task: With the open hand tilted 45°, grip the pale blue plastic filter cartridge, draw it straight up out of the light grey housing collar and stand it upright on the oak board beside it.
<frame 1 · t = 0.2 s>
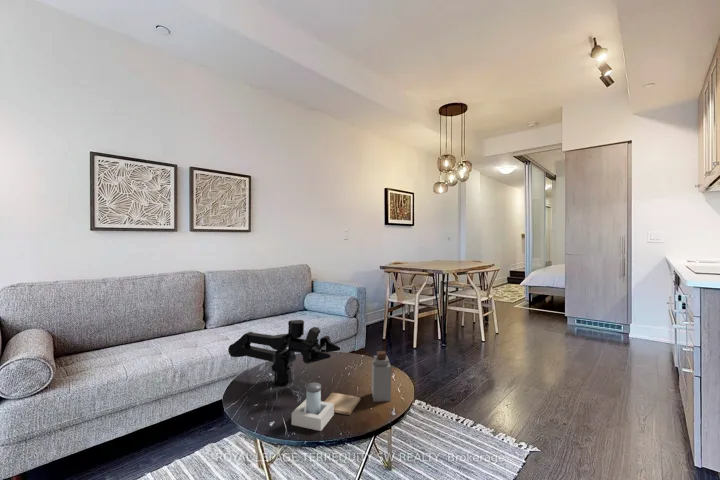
hand: (335, 352, 140), 17 cm above the table, tool horizontal, fingers open, 9 cm apart
perfume bottle: (380, 397, 137), on the table
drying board: (340, 404, 131), on the table
housing: (313, 419, 120), on the table
cartridge: (313, 402, 120), in the housing
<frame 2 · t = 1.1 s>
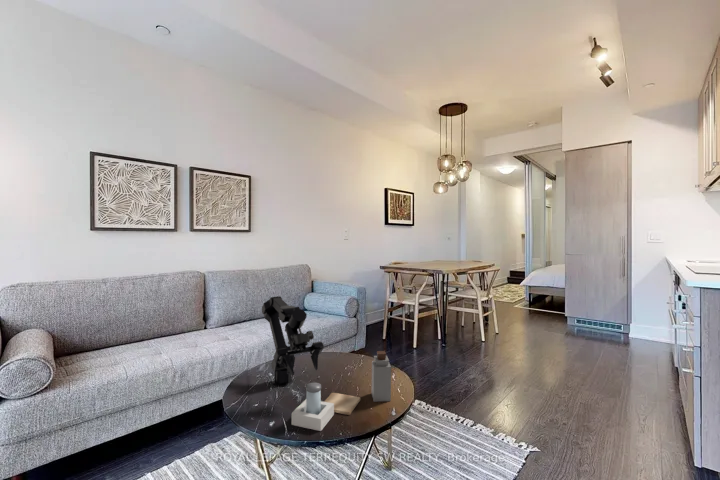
hand: (305, 372, 127), 14 cm above the table, tool tilted 45°, fingers open, 9 cm apart
nothing on the table moved.
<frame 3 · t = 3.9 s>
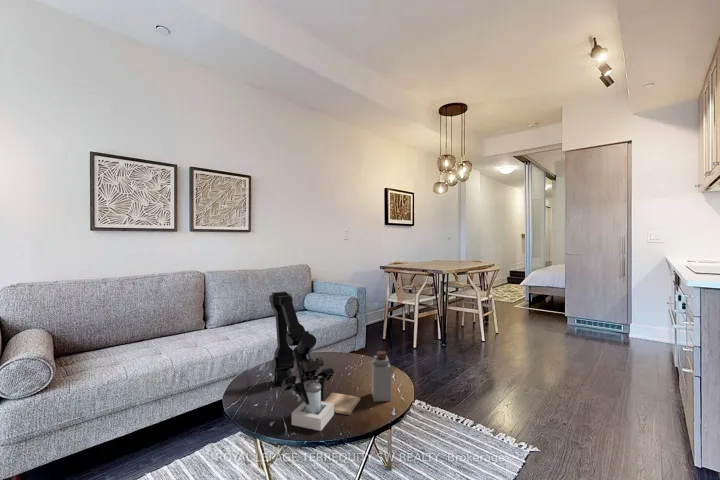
hand: (315, 402, 119), 7 cm above the table, tool tilted 45°, fingers closed on cartridge, 5 cm apart
cartridge: (313, 402, 120), in the housing, touching gripper
everything else where it was.
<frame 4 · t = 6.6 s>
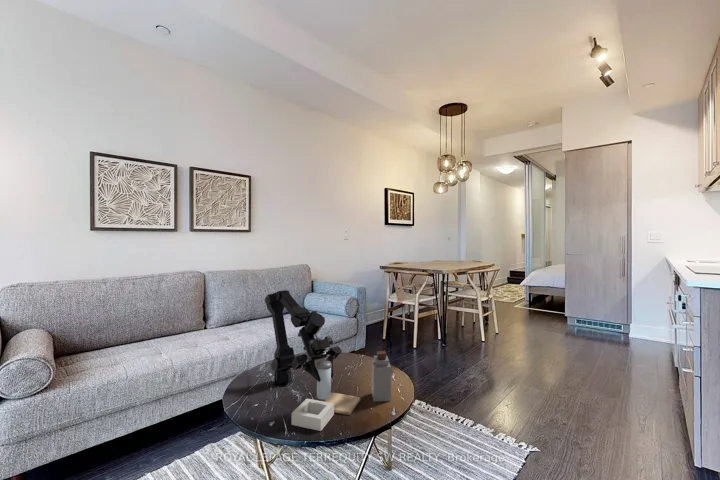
hand: (326, 379, 122), 13 cm above the table, tool tilted 45°, fingers closed on cartridge, 5 cm apart
cartridge: (323, 379, 123), point 13 cm above the table, touching gripper
everything else where it was.
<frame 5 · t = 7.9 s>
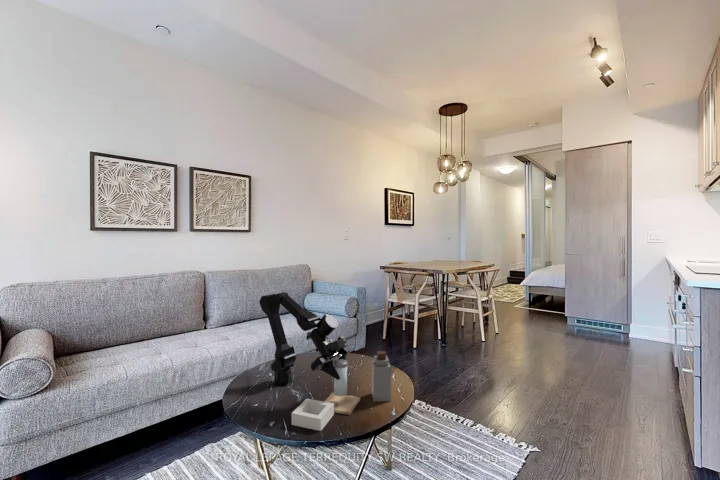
hand: (343, 376, 130), 11 cm above the table, tool tilted 45°, fingers closed on cartridge, 5 cm apart
cartridge: (340, 377, 130), point 10 cm above the table, touching gripper
everything else where it was.
when the fingers open (9 cm above the table, at t = 9.1 s): cartridge drops 1 cm, resting on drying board.
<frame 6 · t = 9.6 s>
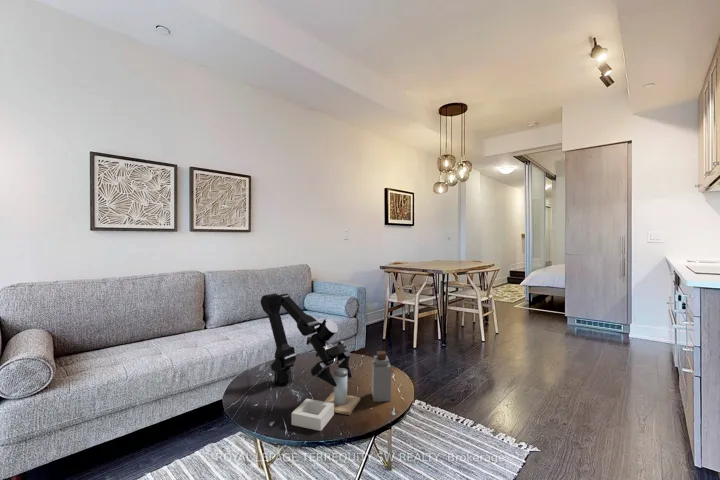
hand: (343, 381, 130), 9 cm above the table, tool tilted 45°, fingers open, 9 cm apart
cartridge: (340, 386, 130), on the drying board, point 7 cm above the table
everything else where it was.
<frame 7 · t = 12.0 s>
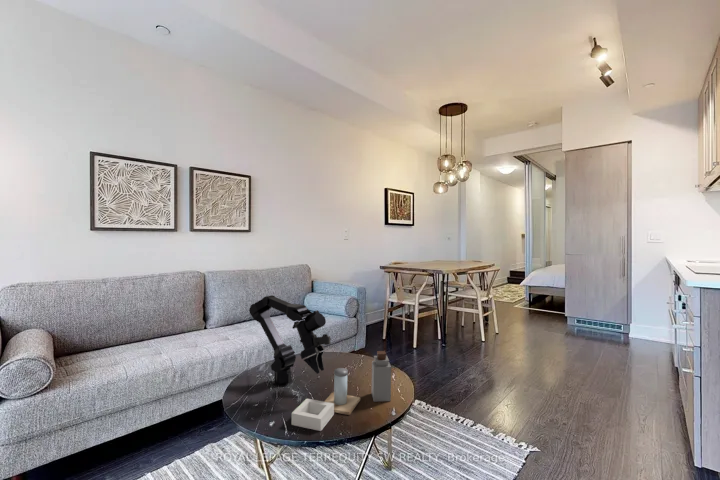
hand: (320, 371, 137), 10 cm above the table, tool tilted 30°, fingers open, 9 cm apart
nothing on the table moved.
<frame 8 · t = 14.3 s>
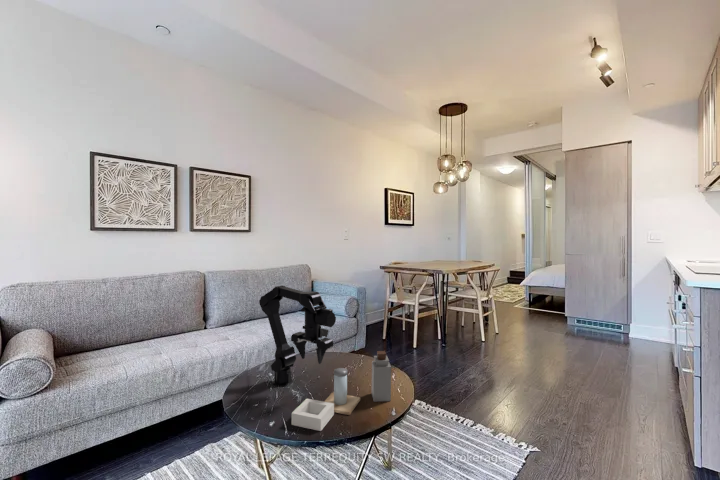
hand: (311, 361, 140), 13 cm above the table, tool pointing down, fingers open, 9 cm apart
nothing on the table moved.
at the end: cartridge 0.0 cm off-centre on the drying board, point 7.0 cm above the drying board's base; cartridge tilted 1°; the gripper is holding nothing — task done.
